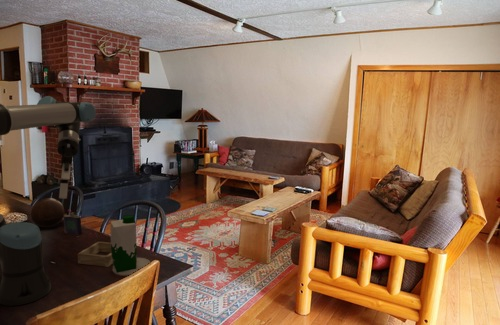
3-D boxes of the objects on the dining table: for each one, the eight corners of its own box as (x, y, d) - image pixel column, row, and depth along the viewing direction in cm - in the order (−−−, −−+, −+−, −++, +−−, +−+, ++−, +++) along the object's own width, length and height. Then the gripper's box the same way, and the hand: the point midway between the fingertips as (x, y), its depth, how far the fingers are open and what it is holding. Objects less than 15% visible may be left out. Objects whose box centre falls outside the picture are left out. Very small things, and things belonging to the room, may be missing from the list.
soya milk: (139, 269, 136) (137, 218, 133) (114, 274, 132) (111, 222, 128) (134, 260, 143) (132, 212, 140) (110, 265, 139) (108, 215, 136)
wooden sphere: (69, 227, 184) (67, 198, 181) (36, 233, 174) (33, 204, 171) (60, 220, 195) (58, 193, 192) (28, 226, 184) (26, 198, 182)
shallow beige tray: (108, 266, 140) (107, 257, 139) (78, 263, 143) (77, 253, 142) (126, 253, 153) (126, 244, 152) (99, 250, 155) (98, 241, 155)
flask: (63, 233, 175) (61, 212, 173) (67, 231, 177) (66, 210, 176) (79, 235, 172) (78, 214, 171) (83, 233, 175) (82, 212, 174)
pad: (138, 277, 131) (138, 275, 131) (105, 273, 134) (104, 271, 134) (156, 261, 145) (156, 259, 145) (125, 258, 148) (125, 256, 148)
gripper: (81, 125, 137) (78, 171, 126) (75, 162, 155) (72, 205, 143) (59, 122, 134) (54, 169, 122) (56, 160, 151) (51, 204, 140)
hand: (64, 189), depth 133 cm, fingers open, 13 cm apart
